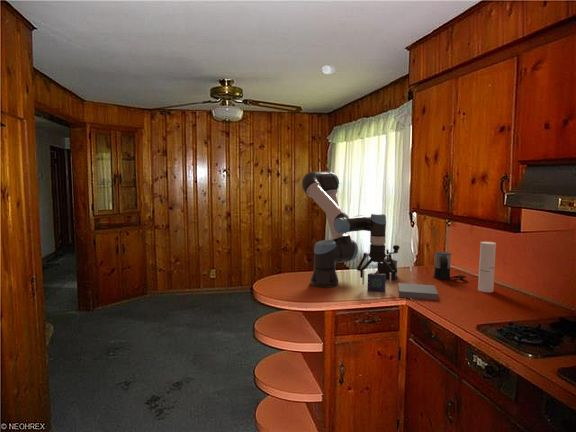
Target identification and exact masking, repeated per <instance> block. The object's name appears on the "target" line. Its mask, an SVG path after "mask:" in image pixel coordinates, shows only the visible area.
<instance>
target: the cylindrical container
mask: <svg viewBox="0 0 576 432" xmlns="http://www.w3.org/2000/svg"><path fill="white" fill-rule="evenodd" d="M479 247H480V250H479V264H478V265H479V266H478V281H477V283H478V284H477V286H478V287H477V291H479V292H483V293H493V292H494V287H495V285H494V284H495V271H496V269H495V266H496V255H497V254H496V251H497V243H496V242H493V241H480V246H479Z"/></svg>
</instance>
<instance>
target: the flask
mask: <svg viewBox="0 0 576 432" xmlns="http://www.w3.org/2000/svg"><path fill="white" fill-rule="evenodd" d="M386 282H387V279H386V274H379V273H378V271H377V270H375V272H370V273H368V274H367V292H371V293H373V292H375V293H377V292H378V293H380V292H381V293H383V292H386V284H387V283H386Z"/></svg>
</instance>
